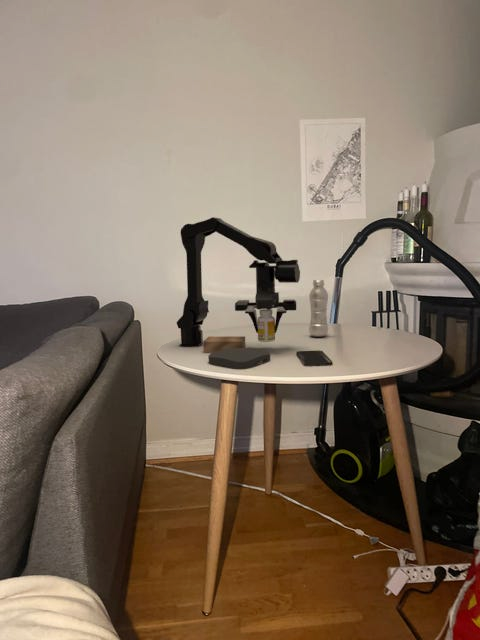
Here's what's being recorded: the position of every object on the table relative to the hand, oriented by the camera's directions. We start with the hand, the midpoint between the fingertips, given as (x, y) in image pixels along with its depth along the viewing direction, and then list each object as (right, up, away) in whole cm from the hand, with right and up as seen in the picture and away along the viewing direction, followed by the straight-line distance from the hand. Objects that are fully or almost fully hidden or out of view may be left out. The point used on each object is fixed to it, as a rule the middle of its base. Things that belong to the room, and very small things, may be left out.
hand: (266, 332), depth 134 cm
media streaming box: (-8, -8, -13) cm, 18 cm away
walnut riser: (-13, -6, +1) cm, 14 cm away
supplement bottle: (0, -3, 0) cm, 3 cm away
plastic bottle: (+20, -2, +18) cm, 27 cm away
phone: (+12, -8, -14) cm, 20 cm away
